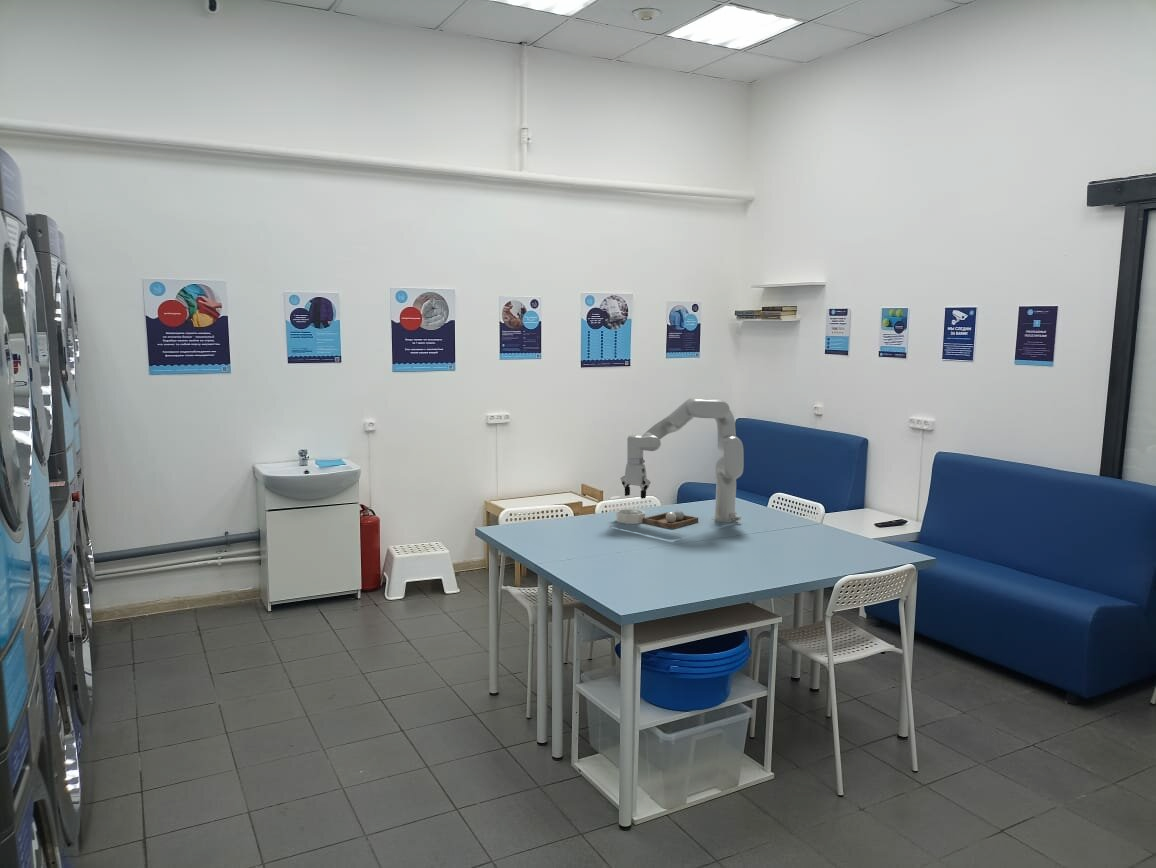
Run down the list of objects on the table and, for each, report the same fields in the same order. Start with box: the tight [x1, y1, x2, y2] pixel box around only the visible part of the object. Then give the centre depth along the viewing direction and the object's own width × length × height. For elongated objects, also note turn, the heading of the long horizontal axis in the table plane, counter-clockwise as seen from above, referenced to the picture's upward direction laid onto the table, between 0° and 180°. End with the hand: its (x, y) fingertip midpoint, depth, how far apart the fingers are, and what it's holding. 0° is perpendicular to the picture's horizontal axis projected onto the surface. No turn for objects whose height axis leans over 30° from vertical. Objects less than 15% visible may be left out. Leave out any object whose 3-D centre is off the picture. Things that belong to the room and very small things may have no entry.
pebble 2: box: [666, 511, 676, 523], centre depth 383 cm, size 5×5×5 cm
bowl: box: [615, 508, 646, 525], centre depth 386 cm, size 13×13×5 cm
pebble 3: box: [673, 509, 685, 521], centre depth 388 cm, size 5×5×5 cm
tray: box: [643, 511, 699, 530], centre depth 383 cm, size 17×21×3 cm
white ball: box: [629, 510, 639, 514], centre depth 387 cm, size 5×5×5 cm
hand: (635, 496), depth 386 cm, fingers open, 9 cm apart
